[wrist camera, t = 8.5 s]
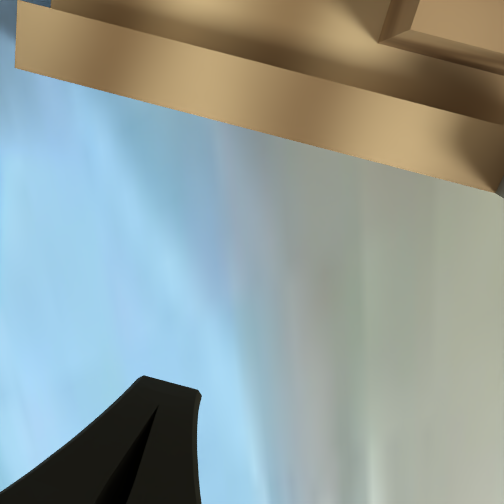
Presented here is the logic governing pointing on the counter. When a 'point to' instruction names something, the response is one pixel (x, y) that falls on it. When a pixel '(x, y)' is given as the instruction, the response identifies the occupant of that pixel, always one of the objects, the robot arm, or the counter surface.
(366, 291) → the counter surface
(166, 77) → the wooden base
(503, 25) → the crate
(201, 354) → the counter surface
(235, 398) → the counter surface
